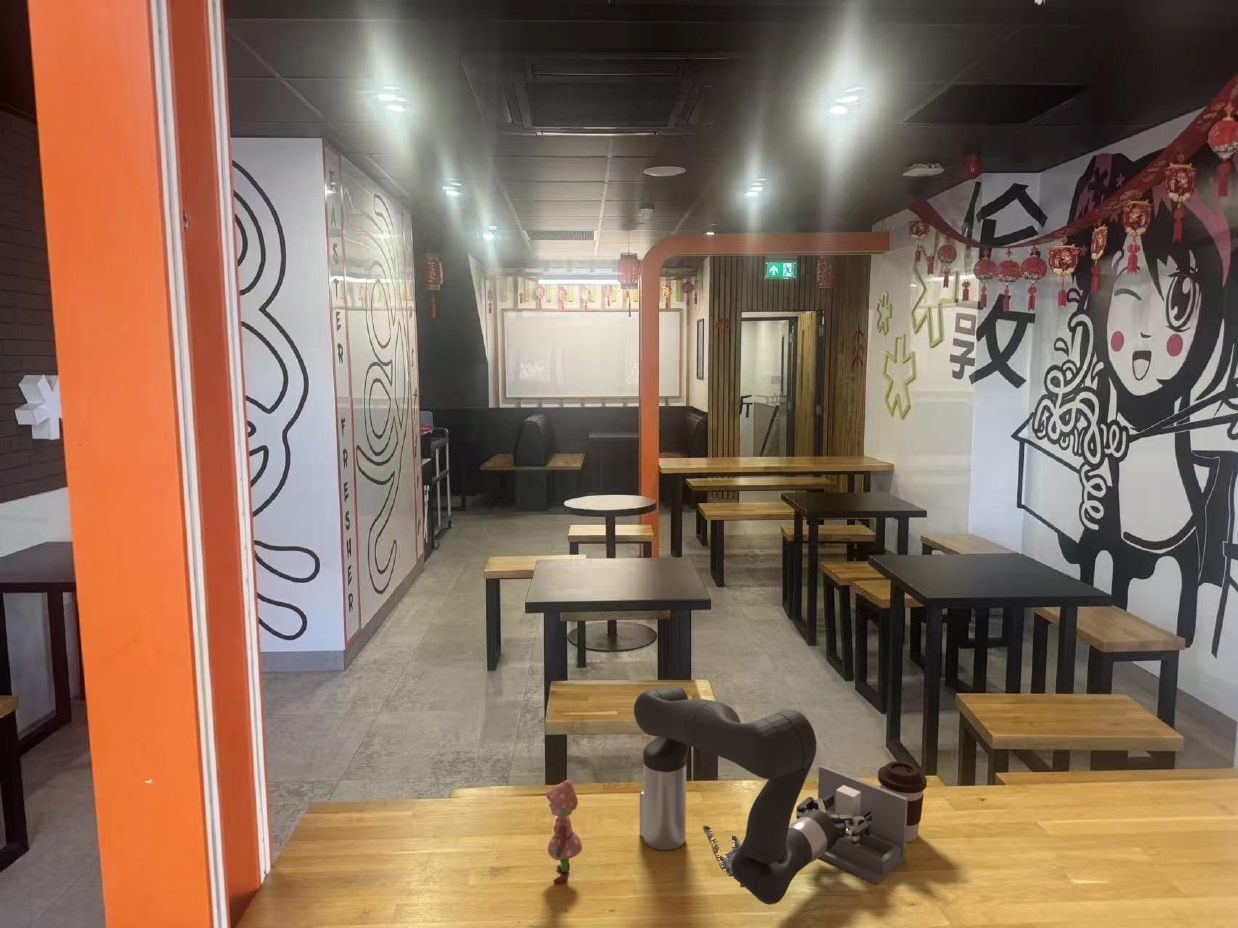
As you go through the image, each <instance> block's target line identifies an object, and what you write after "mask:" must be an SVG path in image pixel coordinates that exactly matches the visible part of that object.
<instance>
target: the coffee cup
mask: <svg viewBox="0 0 1238 928" xmlns="http://www.w3.org/2000/svg"><path fill="white" fill-rule="evenodd" d="M877 780H878V782H879V783H880V788H882V789H885V790H888V791H890V792H893V793H895V794H898V795H901V796H903V797H906V798H908V801H907V827H906V843H912V842H914V841H916V840H917V838H918V835H919V829H920V822H921V821H922V820H921V819H922V812H923V804H924V790H926V788H927V782H928V781H927V777H926V776H925V774H924V773H922V772H921V771H920V769H919V768H918V767H916V766H915V765H914V764H912V763H909V762H905V761H891V762H888V763H887V764H885V765H884V766H882V767H880V768H879V769H878V771H877Z"/></svg>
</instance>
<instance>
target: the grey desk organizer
mask: <svg viewBox="0 0 1238 928" xmlns="http://www.w3.org/2000/svg"><path fill="white" fill-rule="evenodd" d="M817 785H818V786H817V787H818V789H817V790H818V792H817V799H822V798H823V797H825V796H827V795H830V794H831V795H834V804H833V805H832V806H831V807H830V808H828V809H827V811H828V810H830V811H832V812H834V813H835V811H836V790H837V789H838V788H840V787H841V786H843V785H845V786H847V787H850V788H852V789H855V790H857V791H860V792H861V801H860V815H861V814H862V813H863V812H864V811H866V810H867V809H868V810H870V811H871V814H872V821H871V835H870V836H868V837H867V838H865V839H864V840H863V841H861V842H860V843H859V847H856V846H854V845H852V844H850V843H848V842H845V841H843V840H841V839H838V840H837V842H836V843H835V845H834V846H833V847H831V848H830V849H829V850H828V851H826V852H825V853H824V854H823V855H821V856H820V857H819V858H821V859H822V860H824V861H827V862H829V863H831V864H834V865H836V866H837V867H840V868H842V869H844V870H845V871H848V872H850V873H852V874H854V875H856V876H858V877H860V878H863V879H865V880H867V881H869V882H870V883H872V884H875V885H876V886H878V885H879V884H880V883H881V882H883V880H884V879H886V878H887V877H888V876H889V875H890V874H891V873H892V872H894V870H895V869H897V868H898V866H900V865H901V864H902V863H903V862H904V861H905V860H906V853H907V852H906V850H907V846H906V845H907V842H906V827H907V801H908V798H906V797H903V796H901V795H898V794H895V793H893V792H890V791H888V790H885V789H882V788H880V787H879V786H876V785H874V784H872V783H870V782H866V781H864V780H861V779H859V778H856V777H855V776H851V775H849V774H846V773H844V772H841V771H838V770H836V769H833V768H831V767H828V766H825V765H822V764H820V765H819V766H818V784H817ZM813 810H815V809H813Z"/></svg>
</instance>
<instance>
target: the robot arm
mask: <svg viewBox="0 0 1238 928" xmlns="http://www.w3.org/2000/svg"><path fill="white" fill-rule="evenodd" d="M633 715H634V719H635V721H636V723H637V725H638V727H639V728H640V729H641V731H642V732H643V733H645V734H646V735H648V736H651V737H656V738H654V739H653V740H652V741H650V742H649V743H648V744H646V746H645V747H644V748H643V751H642V752H643V753H642V791H641V792H639V836H641V837H642V839H643V841H644V843H645V844H646V845H647V846H649V847H650V848H652V849H656V850H660V851H661V850H662V851H672V850H675V849H677V848H680V847H682V846H683V845H684V843H685V842H686V832H687V831H686V830H687V829H686V828H687V825H686V824H687V823H686V821H687V820H686V819H687V814H686V813H687V756H688V755H689V754H688V753H689V751H690V750H689V748H690V747H693V748H695V749H696V750H700V751H702V752H704V753H707V754H712V755H715V756H717V757H719V758H722V759H725V760H728V761H730V762H732V763H734V764H736V765H737V766H739V767H741V768H742V769H744V770H746V771H747V772H749V773H751V774H753V775H755V776H757V777H759V778H761V779H764V780H767V781H766V783H764V786H763V787H762V789H761V790H760V792H759V793H758V795H757V797H755V800H754V801H753V804H752V806H751V807H750V810H749V814H748V817H747V823H746V830H745V837H744V839H743V841H742V843H741V844H740V845H741V847H740V848H739V850H738V851H737V853H736V854H735V856H734V858H733V860H732V863H731V868H732V873H733V875H734V877H735V878H736V880H737V881H736V880H735V881H736V882H737V883H739V882H740V883H741V884H742V887H744V888H745V890H748V892H750V893H751V894H752V895H753V896H754V897H755V898H756V899H757V900H759V901H760V902H761V903H762V904H765V905H769V906H770V905H776V904H778V903H780V902H781V900H782V899H783V898H784V896H786V895H785V894H786V893H787V891H788V889H789V887H790V884H791V883H792V881H793V880H794V878H795V877H796V875H797V874H798V873H799V872H800V871H801V870H803V869H804V868H805V867H806V866H807V865H809V864H811V863H813V862H814V861H816V860H818V859H819V858H821V857H820V856H821V855H823V854H824V853H825V852H826V851H828V850H829V849H830V848H831V847H833V846H834V845H835V843H836V842H837V840H838V839H839V838H843V837H848V838H850V839H851V843H852V844H853V845H857V844H858V843H860V842H861V841H863V840H864V839H865V838H867V837H868V836H870V835H871V821H872V814H871V811H870V810H868V809H867V810H866V811H864V812H863V813H862V814H861V815H859V816H856V817H852V816H851V815H839V814H836V813H834V812H832V811H830V810H828V811H827V809H828V808H830V807H831V806H832V805H833V804H834V795H831V794H830V795H827V796H825V797H823V798H822V799H818V798H817V799H815V798H814V797H813V796H808V797H807V798H805V799H804V800H803V801H802V802H800V803H799V804H798V805H797V806H796V804H797V802H798V799H799V796H800V794H801V791H802V789H803V787H804V784H805V782H806V779H807V777H808V774H809V772H810V770H811V769H812V765H813V763H814V761H815V758H816V753H817V737H816V734H815V730H814V728H813V726H812V724H811V723H810V721H809V720H808V718H807V717H806V716H805V715H804V714H803V713H801V712H799V711H797V710H793V709H791V710H790V709H789V710H788V709H787V710H783V711H780V712H777V713H774V714H772V715H769V716H766V717H763V718H760V719H758V720H754V721H752V722H747V723H746V722H745V723H744V722H741V719H740V717H739V715H738V714H737V712H736V711H735V710H734V709H733V708H732V707H731V706H729V705H727V704H725V703H723V702H718V701H715V700H710V699H704V698H703V699H701V698H699V699H696V698H695V699H689V697H688V694H687V692H686V691H685V690H684V689H683V688H682V687H680V686H677V685H673V686H667V687H666V686H665V687H660V688H655V689H650V690H649V689H648V690H646V691H644V692H642V693H640V694H639V695H638V696H637V698H636V700H635V701H634V705H633ZM795 807H796V817H795V818H796V820H795V821H793V822H791V819H792V815H793V812H794V809H795ZM814 809H815V810H814ZM845 821H848V827H847V828H846V823H845ZM854 822H858V826H854ZM740 883H739V884H740Z"/></svg>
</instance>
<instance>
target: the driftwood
mask: <svg viewBox="0 0 1238 928" xmlns="http://www.w3.org/2000/svg"><path fill="white" fill-rule="evenodd" d="M711 828H712V827H710V826H708V825H703V826H702V829H703V830H704V832H705V833H706V836H707V838H708V841H709V842H710V843H711V841H713V842H715V840H716V838H717V837H716V838H715V839H713V840H711V838H712V837H714V836H715V835H714V833H715V832H714V833H713V835H714V836H713V835H712V833H711V834H710V832H712V831H713V830H712V831H709V830H710V829H711ZM709 834H710V835H709ZM710 840H711V841H710ZM732 840H734V841H735V842H734V843H735V847H732V848H733V849H732V850H733V851H730V852H729V853H728V854H725V855H726V856H727V857H726V858H724V857H722V856H720V857H716V859H717V858H720V860H721V861H723V862H722V863H723V864H722V863H720V864H721V866H722V865H723V866H724V867H722V868H721V870H722V869H726V872H727V874H729V875H727V874H726V875H727V876H728V877H732V876H733V877H734V875H733V873H732V868H731V863H732V860H733V858H734V856H735V854H736V853H737V851H738V850H739V848H740V847H741V845H742V844H741V842H740V840H739V839H738V837H737V835H736V836H732ZM732 843H733V842H732ZM718 846H719V845H718V844H716V843H715V846H714V847H712V849H713V850H716V851H713V852H714V854H715V853H718V850H719V848H720V846H719V847H718ZM717 856H719V855H717ZM727 858H728V859H727ZM720 860H717V861H720ZM720 864H719V865H720ZM721 866H720V867H721ZM733 877H732V878H733ZM735 879H736V878H735V877H734V879H733V880H735ZM739 887H743V885H742V884H741V883H739Z"/></svg>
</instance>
